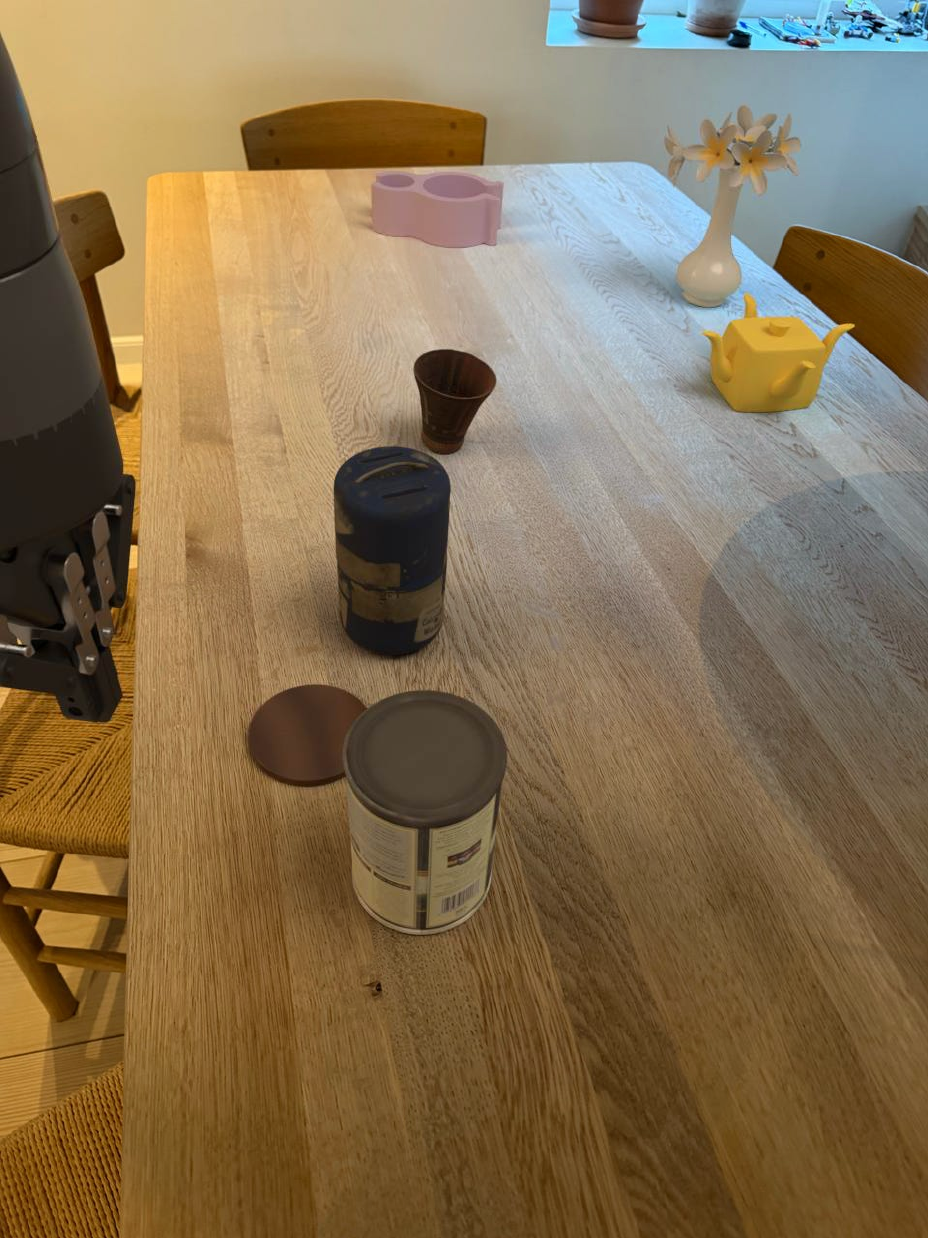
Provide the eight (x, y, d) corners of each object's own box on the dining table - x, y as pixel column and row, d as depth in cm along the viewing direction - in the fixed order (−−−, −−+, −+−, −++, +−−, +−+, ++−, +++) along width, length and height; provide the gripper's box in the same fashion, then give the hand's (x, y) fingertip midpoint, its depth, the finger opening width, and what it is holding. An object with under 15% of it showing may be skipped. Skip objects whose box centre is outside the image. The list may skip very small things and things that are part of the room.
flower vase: (625, 282, 142) (657, 97, 125) (740, 276, 145) (787, 96, 128) (656, 323, 133) (694, 131, 115) (777, 317, 136) (833, 128, 119)
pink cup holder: (366, 238, 148) (365, 193, 144) (381, 208, 157) (381, 164, 153) (494, 251, 147) (497, 206, 143) (502, 220, 156) (505, 176, 151)
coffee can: (400, 790, 74) (401, 666, 65) (516, 851, 71) (536, 731, 61) (320, 890, 68) (308, 770, 58) (444, 964, 64) (453, 849, 55)
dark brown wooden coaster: (281, 806, 73) (280, 800, 72) (229, 718, 79) (228, 712, 78) (395, 754, 77) (395, 747, 76) (338, 674, 83) (338, 668, 82)
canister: (335, 594, 90) (326, 432, 78) (435, 586, 92) (441, 425, 79) (345, 668, 83) (336, 503, 71) (452, 658, 85) (461, 494, 72)
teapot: (684, 396, 119) (701, 324, 112) (726, 352, 128) (744, 283, 121) (797, 436, 114) (822, 363, 107) (832, 387, 123) (858, 317, 116)
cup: (482, 475, 105) (489, 395, 98) (403, 462, 106) (404, 382, 99) (496, 432, 111) (503, 353, 104) (422, 420, 112) (423, 342, 105)
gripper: (-26, 278, 37) (77, 603, 49) (-254, 475, 28) (-57, 817, 40) (161, 299, 37) (219, 621, 49) (-5, 506, 27) (118, 843, 39)
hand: (95, 709), depth 44 cm, fingers closed
